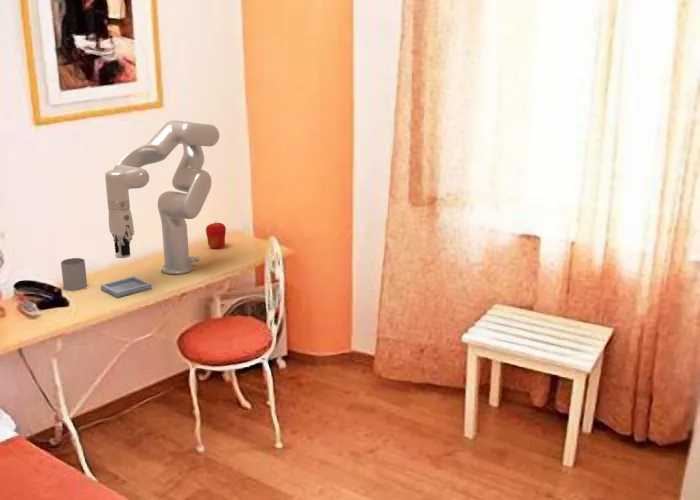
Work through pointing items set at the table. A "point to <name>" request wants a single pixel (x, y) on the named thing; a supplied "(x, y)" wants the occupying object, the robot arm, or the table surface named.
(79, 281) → the cup
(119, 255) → the chess piece
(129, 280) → the tray
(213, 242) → the apple
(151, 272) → the table surface
